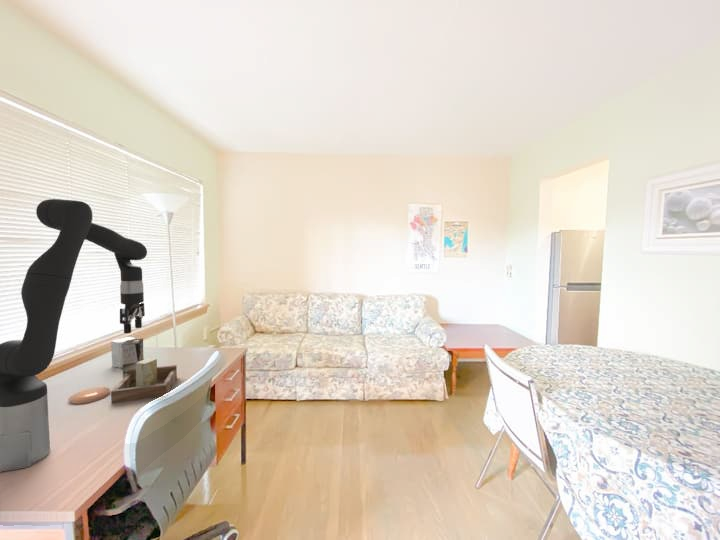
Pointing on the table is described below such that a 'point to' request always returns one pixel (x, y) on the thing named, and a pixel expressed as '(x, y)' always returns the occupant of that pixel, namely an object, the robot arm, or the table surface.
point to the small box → (118, 351)
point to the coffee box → (131, 354)
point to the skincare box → (146, 372)
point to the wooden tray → (143, 392)
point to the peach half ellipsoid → (89, 395)
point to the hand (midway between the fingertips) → (133, 330)
